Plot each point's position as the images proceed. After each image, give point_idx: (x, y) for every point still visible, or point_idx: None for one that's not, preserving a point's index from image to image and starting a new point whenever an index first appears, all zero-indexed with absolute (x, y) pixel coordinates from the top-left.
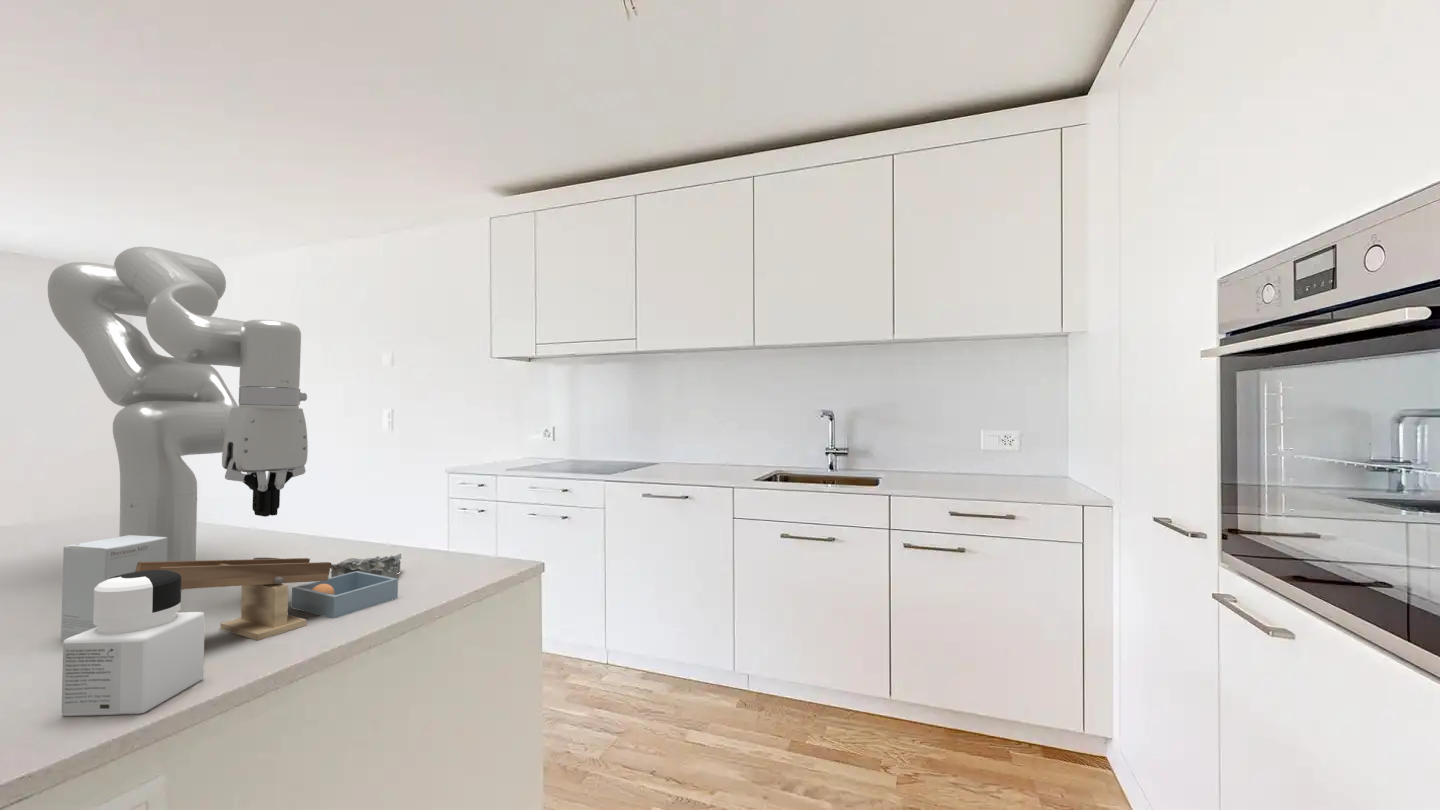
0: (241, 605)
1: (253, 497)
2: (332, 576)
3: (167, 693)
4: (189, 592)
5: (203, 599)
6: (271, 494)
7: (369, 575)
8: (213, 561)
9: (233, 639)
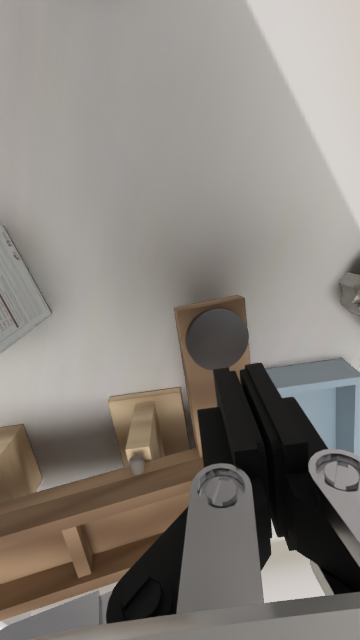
0: (132, 418)
1: (203, 455)
2: (350, 288)
3: None
4: (131, 53)
5: (137, 166)
6: (272, 513)
7: (353, 423)
8: (48, 533)
9: (110, 452)
